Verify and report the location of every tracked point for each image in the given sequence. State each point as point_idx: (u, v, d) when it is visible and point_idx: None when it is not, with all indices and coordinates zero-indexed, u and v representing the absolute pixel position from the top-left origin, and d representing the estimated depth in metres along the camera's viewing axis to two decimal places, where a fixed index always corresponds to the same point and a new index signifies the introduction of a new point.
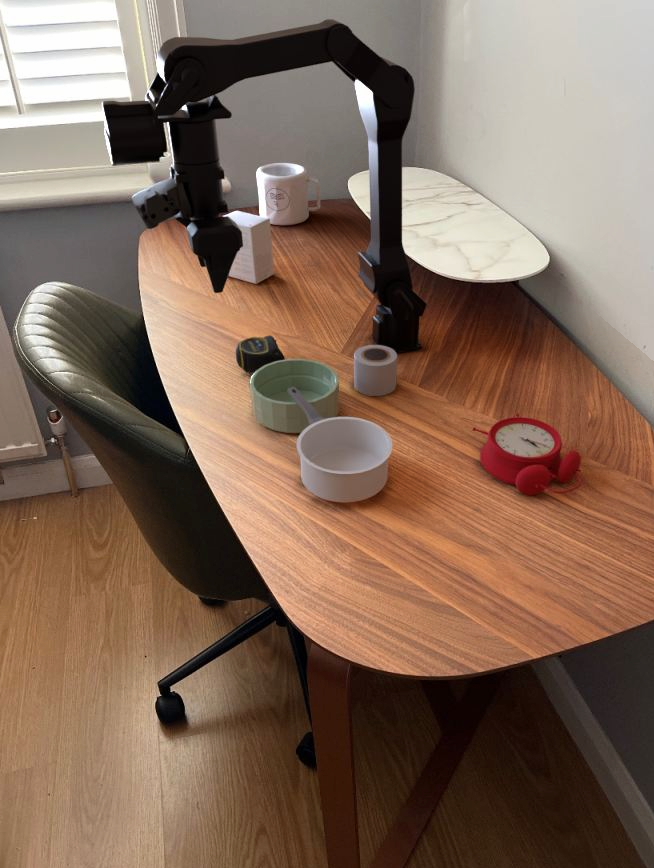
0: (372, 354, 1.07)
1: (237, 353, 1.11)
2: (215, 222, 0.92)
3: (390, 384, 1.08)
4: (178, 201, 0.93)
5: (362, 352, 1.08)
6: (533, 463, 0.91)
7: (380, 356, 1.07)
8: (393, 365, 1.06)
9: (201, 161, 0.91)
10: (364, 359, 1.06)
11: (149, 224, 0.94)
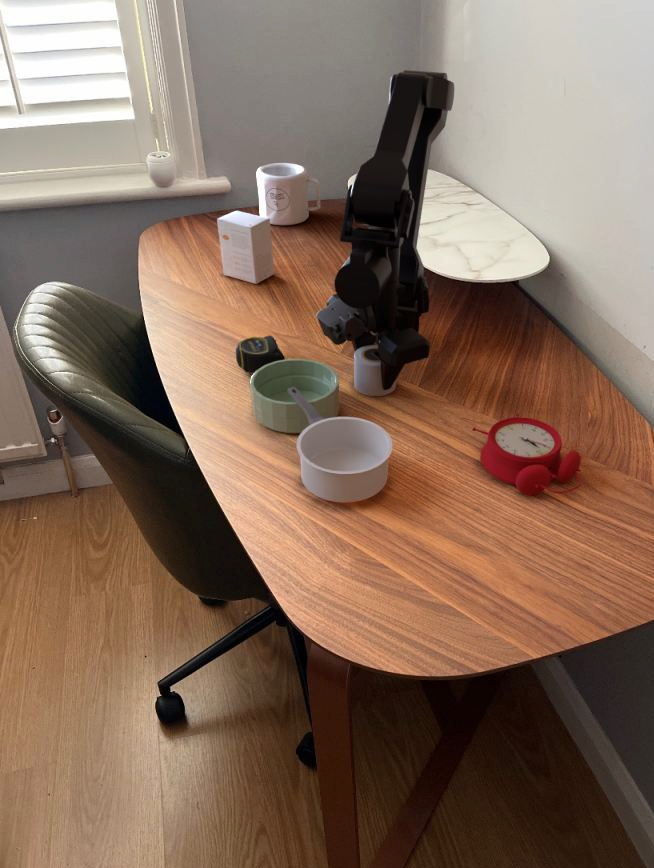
0: (372, 354, 1.07)
1: (237, 353, 1.11)
2: (406, 336, 0.99)
3: None
4: (366, 318, 0.99)
5: (362, 352, 1.08)
6: (533, 463, 0.91)
7: None
8: None
9: (398, 276, 0.99)
10: (364, 359, 1.06)
11: (339, 341, 1.00)
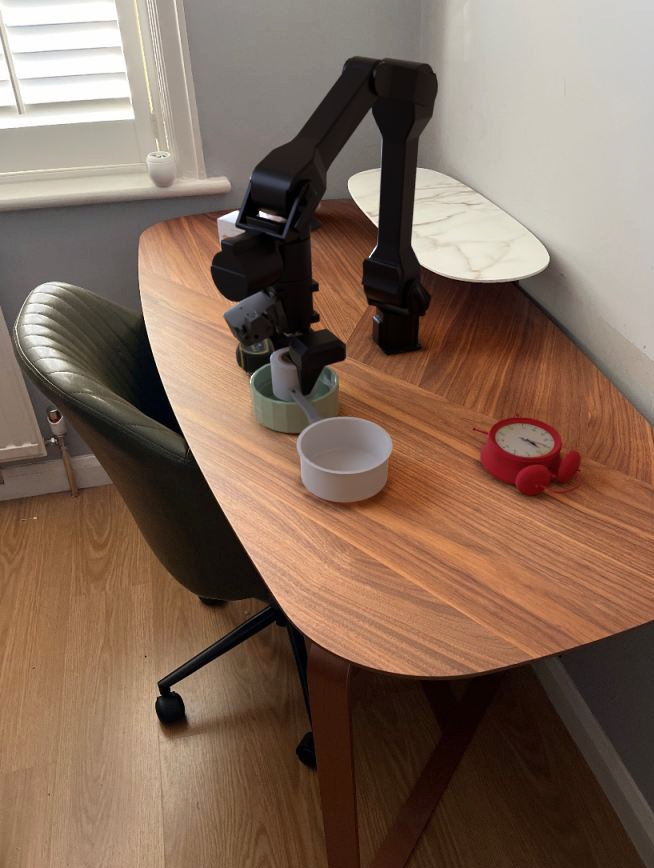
0: None
1: (237, 353, 1.11)
2: (319, 337, 0.91)
3: None
4: (276, 318, 0.91)
5: (279, 354, 1.00)
6: (533, 463, 0.91)
7: None
8: None
9: (307, 275, 0.90)
10: (280, 363, 0.98)
11: (247, 342, 0.92)
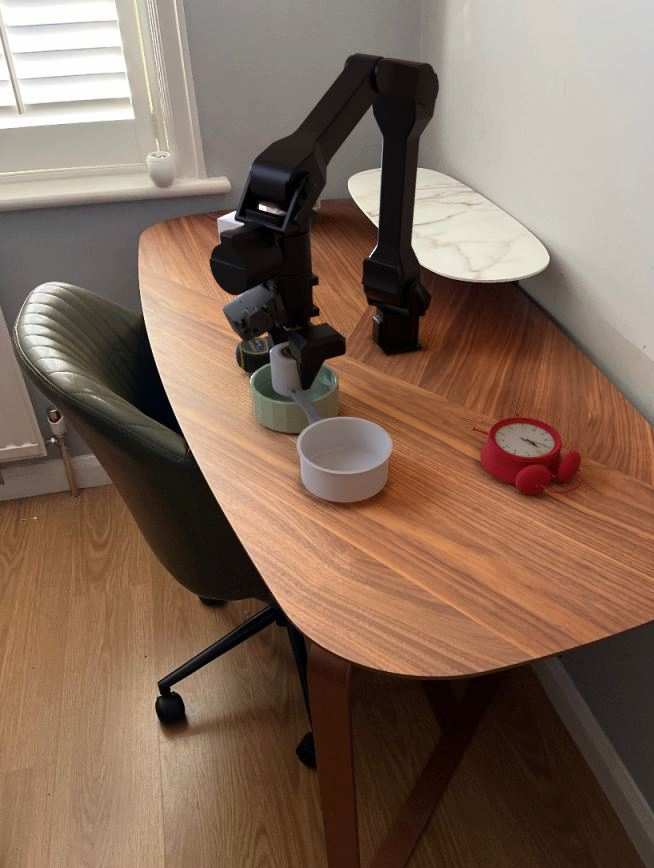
0: None
1: (237, 353, 1.11)
2: (319, 331, 0.90)
3: None
4: (276, 312, 0.91)
5: (279, 349, 0.99)
6: (533, 463, 0.91)
7: None
8: None
9: (307, 269, 0.90)
10: (280, 357, 0.98)
11: (247, 336, 0.91)
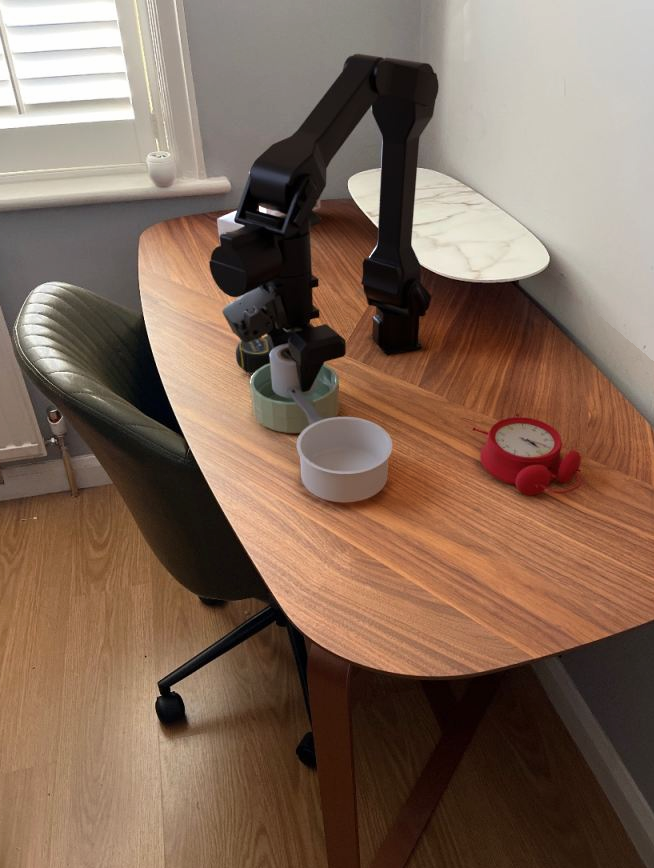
0: None
1: (237, 353, 1.11)
2: (319, 333, 0.90)
3: None
4: (275, 313, 0.91)
5: (279, 351, 0.99)
6: (533, 463, 0.91)
7: None
8: None
9: (306, 270, 0.90)
10: (279, 359, 0.98)
11: (246, 338, 0.91)
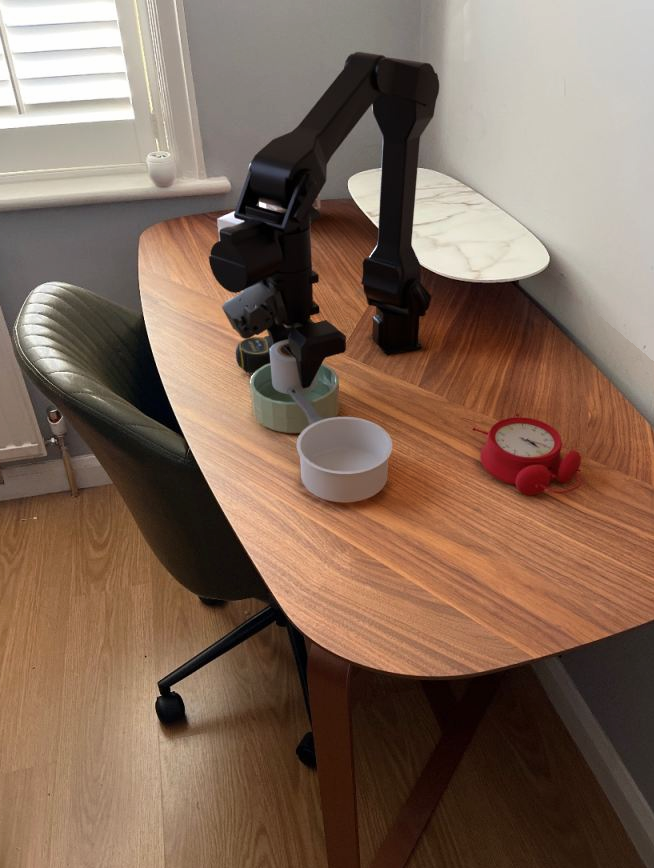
0: None
1: (237, 353, 1.11)
2: (319, 329, 0.90)
3: None
4: (275, 309, 0.91)
5: (279, 347, 0.99)
6: (533, 463, 0.91)
7: None
8: None
9: (307, 266, 0.90)
10: (279, 355, 0.97)
11: (246, 334, 0.91)
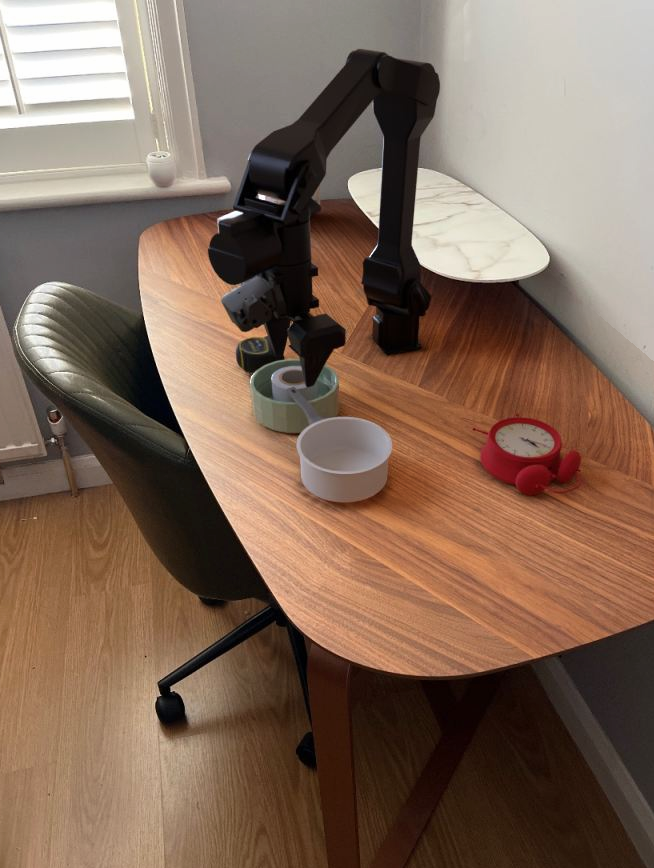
0: (291, 376, 1.01)
1: (237, 353, 1.11)
2: (318, 322, 0.89)
3: None
4: (275, 302, 0.90)
5: (280, 374, 1.02)
6: (533, 463, 0.91)
7: (299, 379, 1.01)
8: (312, 388, 1.00)
9: (306, 259, 0.89)
10: (281, 382, 1.00)
11: (245, 327, 0.90)
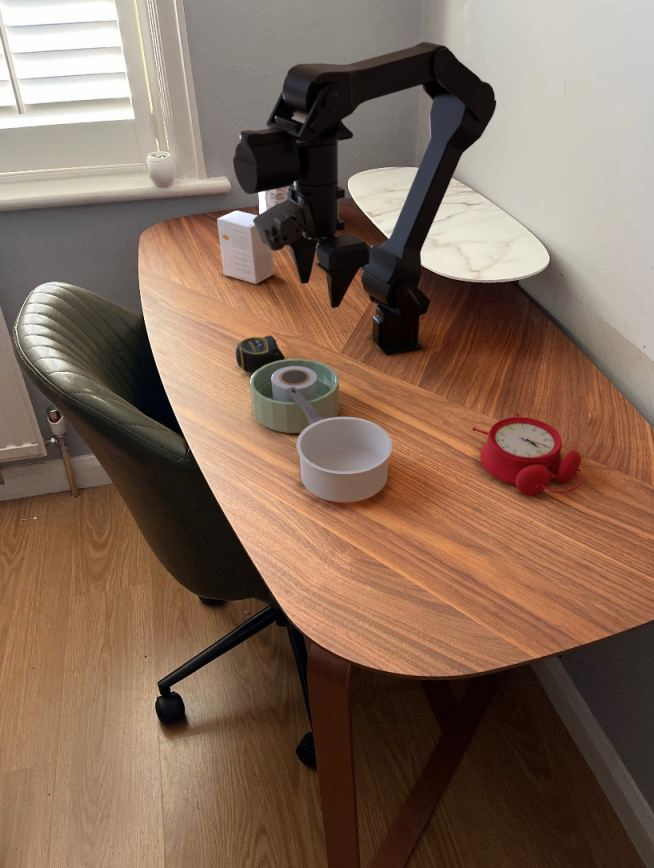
0: (291, 376, 1.01)
1: (237, 353, 1.11)
2: (345, 240, 0.95)
3: None
4: (304, 222, 0.95)
5: (280, 374, 1.02)
6: (533, 463, 0.91)
7: (299, 379, 1.01)
8: (312, 388, 1.00)
9: (329, 182, 0.94)
10: (281, 382, 1.00)
11: (276, 246, 0.96)
